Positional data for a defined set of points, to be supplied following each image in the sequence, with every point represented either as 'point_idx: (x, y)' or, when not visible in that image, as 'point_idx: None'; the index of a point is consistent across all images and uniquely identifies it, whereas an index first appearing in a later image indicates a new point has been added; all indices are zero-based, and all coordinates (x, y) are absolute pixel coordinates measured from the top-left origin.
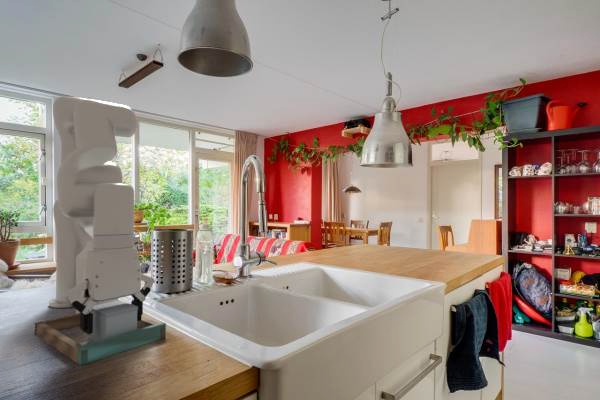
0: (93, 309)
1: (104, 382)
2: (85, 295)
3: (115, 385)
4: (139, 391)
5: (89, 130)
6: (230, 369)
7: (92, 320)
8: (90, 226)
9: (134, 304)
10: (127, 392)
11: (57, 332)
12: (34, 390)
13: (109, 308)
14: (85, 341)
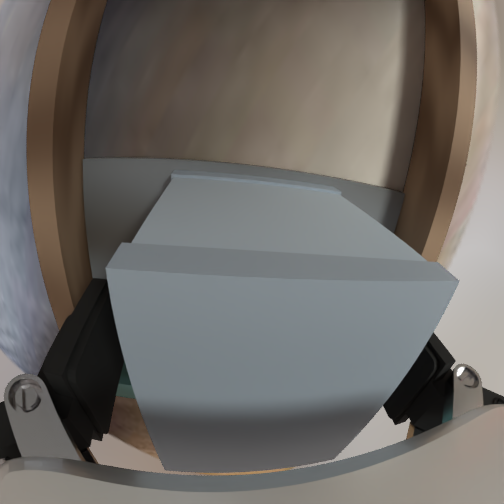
0: (132, 373)
1: (123, 424)
2: (12, 476)
3: (135, 436)
4: (157, 455)
5: None
6: (272, 469)
7: (111, 402)
8: None
9: (407, 384)
10: (143, 450)
11: (52, 67)
12: (21, 363)
13: (228, 438)
14: (166, 160)
